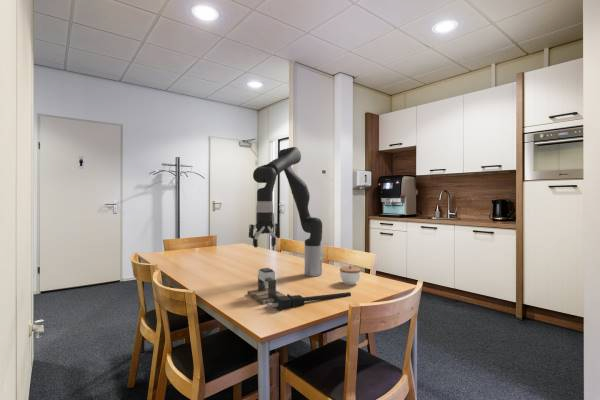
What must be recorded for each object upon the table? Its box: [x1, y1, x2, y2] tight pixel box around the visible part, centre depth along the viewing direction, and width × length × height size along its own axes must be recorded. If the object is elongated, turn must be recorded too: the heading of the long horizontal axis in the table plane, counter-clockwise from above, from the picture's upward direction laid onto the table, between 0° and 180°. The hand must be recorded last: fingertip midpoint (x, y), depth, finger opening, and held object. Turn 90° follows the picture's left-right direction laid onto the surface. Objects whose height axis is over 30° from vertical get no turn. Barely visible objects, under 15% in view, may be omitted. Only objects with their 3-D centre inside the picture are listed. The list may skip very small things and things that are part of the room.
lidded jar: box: [339, 265, 362, 286], centre depth 167 cm, size 11×11×9 cm
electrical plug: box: [262, 291, 352, 312], centre depth 138 cm, size 9×42×5 cm, turn 116°
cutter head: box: [257, 267, 276, 288], centre depth 144 cm, size 7×5×8 cm
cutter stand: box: [247, 277, 286, 305], centre depth 144 cm, size 16×12×9 cm
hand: (264, 246), depth 145 cm, fingers open, 8 cm apart
